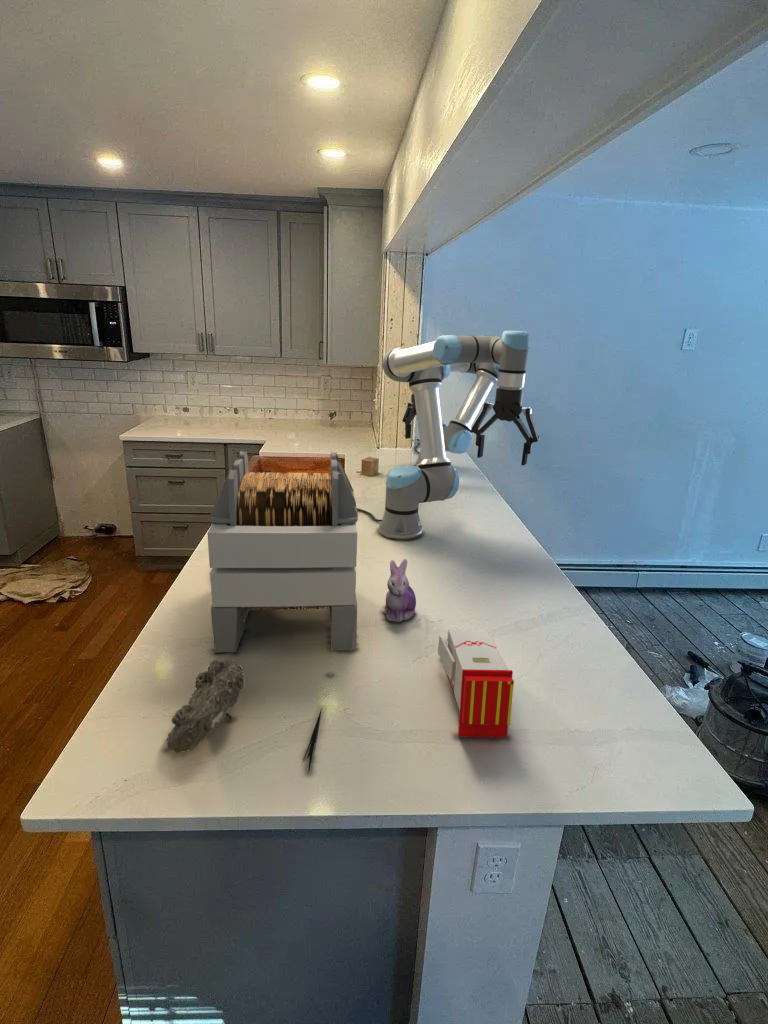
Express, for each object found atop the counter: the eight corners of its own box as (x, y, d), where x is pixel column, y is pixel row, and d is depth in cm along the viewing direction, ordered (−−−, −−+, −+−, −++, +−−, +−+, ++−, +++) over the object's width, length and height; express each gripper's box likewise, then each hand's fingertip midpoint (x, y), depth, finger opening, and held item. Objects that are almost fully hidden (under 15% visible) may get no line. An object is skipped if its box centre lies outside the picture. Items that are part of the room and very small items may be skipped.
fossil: (192, 660, 117) (244, 628, 112) (224, 691, 120) (276, 661, 115) (142, 746, 98) (202, 712, 93) (182, 779, 101) (242, 748, 96)
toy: (488, 613, 130) (523, 677, 101) (484, 667, 133) (517, 744, 104) (435, 612, 130) (455, 676, 101) (432, 666, 133) (451, 743, 103)
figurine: (392, 627, 141) (395, 572, 136) (374, 608, 149) (376, 556, 144) (425, 619, 145) (429, 566, 140) (405, 601, 154) (408, 550, 149)
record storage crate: (232, 584, 158) (225, 442, 144) (349, 583, 162) (353, 444, 148) (211, 655, 127) (198, 480, 113) (357, 651, 130) (362, 482, 117)
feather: (331, 679, 122) (336, 673, 122) (307, 777, 96) (313, 769, 95) (324, 675, 122) (329, 669, 121) (298, 772, 95) (304, 764, 95)
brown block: (370, 476, 266) (371, 461, 264) (361, 474, 269) (361, 459, 266) (378, 473, 272) (378, 458, 269) (368, 471, 274) (369, 456, 272)
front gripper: (557, 391, 158) (546, 465, 165) (473, 382, 169) (467, 451, 177) (550, 394, 152) (539, 470, 159) (464, 384, 163) (457, 456, 171)
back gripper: (445, 397, 241) (441, 446, 249) (409, 389, 260) (406, 435, 268) (431, 398, 237) (427, 448, 244) (396, 390, 256) (394, 436, 263)
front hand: (501, 460), depth 168 cm, fingers open, 13 cm apart
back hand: (416, 441), depth 256 cm, fingers open, 13 cm apart
